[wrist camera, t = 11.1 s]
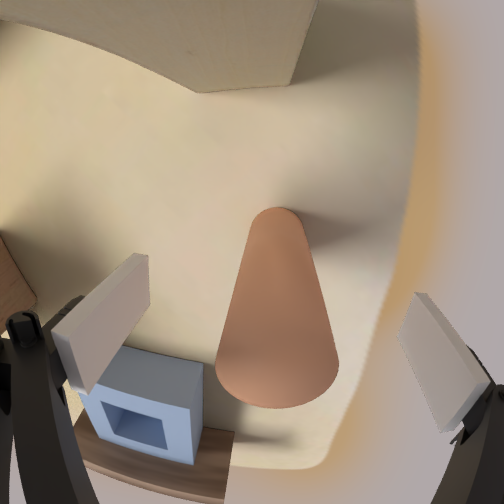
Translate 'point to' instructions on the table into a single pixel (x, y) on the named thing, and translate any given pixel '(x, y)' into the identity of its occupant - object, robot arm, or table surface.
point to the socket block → (149, 404)
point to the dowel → (277, 320)
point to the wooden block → (12, 288)
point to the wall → (161, 464)
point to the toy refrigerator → (184, 35)
